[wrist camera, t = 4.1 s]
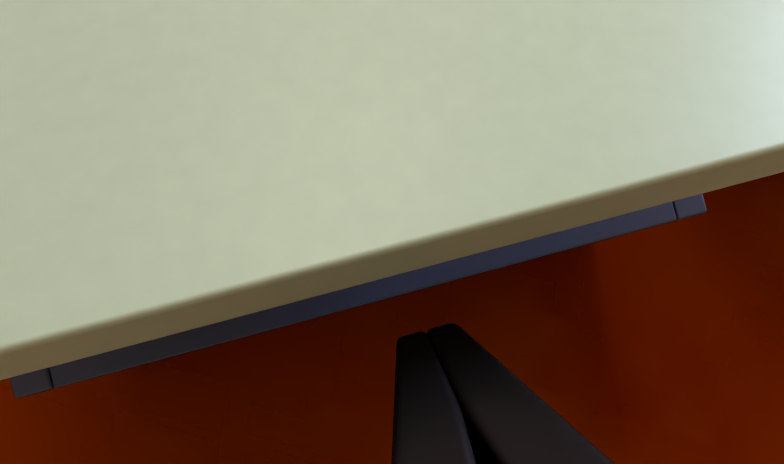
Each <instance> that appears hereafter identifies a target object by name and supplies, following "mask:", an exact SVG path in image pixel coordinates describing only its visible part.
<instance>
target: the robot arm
mask: <svg viewBox="0 0 784 464" xmlns="http://www.w3.org/2000/svg"><path fill="white" fill-rule="evenodd" d="M392 464H614V463H613V462H612V461H611V460H610V459H608V458H607V457H606V456H605V455H604V454H603V453H602V452H601V451H599V450H598V449H597V448H596V447H595V446H594V445H593V444H592V443H590V442H589V441H588V440H587V439H586V438H585V437H584V436H583V435H581V434H580V433H579V432H578V431H577V430H576V429H575V428H574V427H572V426H571V425H570V424H569V423H568V422H567V421H566V420H565V419H563V418H562V417H561V416H560V415H559V414H558V413H557V412H556V411H554V410H553V409H552V408H551V407H550V406H549V405H548V404H546V403H545V402H544V401H543V400H542V399H541V398H540V397H539V396H537V395H536V394H535V393H534V392H533V391H532V390H531V389H530V388H528V387H527V386H526V385H525V384H524V383H523V382H522V381H521V380H519V379H518V378H517V377H516V376H515V375H514V374H513V373H512V372H510V371H509V370H508V369H507V368H506V367H505V366H504V365H503V364H501V363H500V362H499V361H498V360H497V359H496V358H495V357H493V356H492V355H491V354H490V353H489V352H488V351H487V350H486V349H484V348H483V347H482V346H481V345H480V344H479V343H478V342H477V341H475V340H474V339H473V338H472V337H471V336H470V335H469V334H468V333H466V332H465V331H464V330H463V329H462V328H461V327H460V326H458V325H457V324H454V323H449V324H445V325H442V326H438V327H435V328H431V329H429V330H428V331H427V334H426V333H425V332H417V333H413V334H409V335H406V336H402V337H400V338H399V339H398V340H397V348H396V371H395V395H394V418H393V442H392Z"/></svg>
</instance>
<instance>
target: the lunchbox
mask: <svg viewBox="0 0 784 464" xmlns="http://www.w3.org/2000/svg"><path fill="white" fill-rule="evenodd" d="M705 212H707V209H706V205H705V202H704V198H703V194H699V195H695V196H691V197H688V198H684V199H680V200H676V201H673V202H669V203H665V204H661V205H658V206H654V207H650V208H646V209H643V210H639V211H635V212H631V213H627V214H624V215H620V216H616V217H612V218H609V219H605V220H601V221H597V222H594V223H590V224H586V225H582V226H579V227H575V228H571V229H567V230H564V231H560V232H556V233H552V234H549V235H545V236H541V237H537V238H534V239H530V240H526V241H522V242H518V243H515V244H511V245H507V246H503V247H500V248H496V249H492V250H488V251H485V252H481V253H477V254H473V255H470V256H466V257H462V258H458V259H455V260H451V261H447V262H443V263H440V264H436V265H432V266H428V267H424V268H421V269H417V270H413V271H409V272H406V273H402V274H398V275H394V276H391V277H387V278H383V279H379V280H376V281H372V282H368V283H364V284H361V285H357V286H353V287H349V288H346V289H342V290H338V291H334V292H330V293H327V294H323V295H319V296H315V297H312V298H308V299H304V300H300V301H297V302H293V303H289V304H285V305H282V306H278V307H274V308H270V309H267V310H263V311H259V312H255V313H252V314H248V315H244V316H240V317H236V318H233V319H229V320H225V321H221V322H218V323H214V324H210V325H206V326H203V327H199V328H195V329H191V330H188V331H184V332H180V333H176V334H173V335H169V336H165V337H161V338H158V339H154V340H150V341H146V342H143V343H139V344H135V345H131V346H127V347H124V348H120V349H116V350H112V351H109V352H105V353H101V354H97V355H94V356H90V357H86V358H82V359H79V360H75V361H71V362H67V363H64V364H60V365H56V366H52V367H49V368H45V369H41V370H37V371H33V372H30V373H26V374H22V375H18V376H15V377H11V378H10V380H11V384H12V388H13V393H14V396H15V398H21V397H25V396H29V395H33V394H36V393H40V392H44V391H47V390H51V389H53V388H59V387H62V386H66V385H70V384H73V383H77V382H81V381H85V380H88V379H92V378H96V377H99V376H103V375H107V374H110V373H114V372H118V371H122V370H125V369H129V368H133V367H136V366H140V365H144V364H147V363H151V362H155V361H159V360H162V359H166V358H170V357H173V356H177V355H181V354H184V353H188V352H192V351H196V350H199V349H203V348H207V347H210V346H214V345H218V344H221V343H225V342H229V341H233V340H236V339H240V338H244V337H247V336H251V335H255V334H258V333H262V332H266V331H270V330H273V329H277V328H281V327H284V326H288V325H292V324H295V323H299V322H303V321H307V320H310V319H314V318H318V317H321V316H325V315H329V314H332V313H336V312H340V311H344V310H347V309H351V308H355V307H358V306H362V305H366V304H369V303H373V302H377V301H381V300H384V299H388V298H392V297H395V296H399V295H403V294H406V293H410V292H414V291H418V290H421V289H425V288H429V287H432V286H436V285H440V284H443V283H447V282H451V281H455V280H458V279H462V278H466V277H469V276H473V275H477V274H480V273H484V272H488V271H492V270H495V269H499V268H503V267H506V266H510V265H514V264H517V263H521V262H525V261H529V260H532V259H536V258H540V257H543V256H547V255H551V254H554V253H558V252H562V251H566V250H569V249H573V248H577V247H580V246H584V245H588V244H591V243H595V242H599V241H603V240H606V239H610V238H614V237H617V236H621V235H625V234H628V233H632V232H636V231H640V230H643V229H647V228H651V227H654V226H658V225H662V224H666V223H669V222H673V221H675V220H680V219H684V218H688V217H691V216H695V215H699V214H703V213H705Z"/></svg>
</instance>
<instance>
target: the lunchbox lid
mask: <svg viewBox="0 0 784 464" xmlns="http://www.w3.org/2000/svg"><path fill="white" fill-rule="evenodd" d="M782 172H784V0H0V380H3V379H7V378H11V377H15V376H18V375H22V374H26V373H30V372H33V371H37V370H41V369H45V368H49V367H52V366H56V365H60V364H64V363H67V362H71V361H75V360H79V359H82V358H86V357H90V356H94V355H97V354H101V353H105V352H109V351H112V350H116V349H120V348H124V347H127V346H131V345H135V344H139V343H143V342H146V341H150V340H154V339H158V338H161V337H165V336H169V335H173V334H176V333H180V332H184V331H188V330H191V329H195V328H199V327H203V326H206V325H210V324H214V323H218V322H221V321H225V320H229V319H233V318H236V317H240V316H244V315H248V314H252V313H255V312H259V311H263V310H267V309H270V308H274V307H278V306H282V305H285V304H289V303H293V302H297V301H300V300H304V299H308V298H312V297H315V296H319V295H323V294H327V293H330V292H334V291H338V290H342V289H346V288H349V287H353V286H357V285H361V284H364V283H368V282H372V281H376V280H379V279H383V278H387V277H391V276H394V275H398V274H402V273H406V272H409V271H413V270H417V269H421V268H424V267H428V266H432V265H436V264H440V263H443V262H447V261H451V260H455V259H458V258H462V257H466V256H470V255H473V254H477V253H481V252H485V251H488V250H492V249H496V248H500V247H503V246H507V245H511V244H515V243H518V242H522V241H526V240H530V239H534V238H537V237H541V236H545V235H549V234H552V233H556V232H560V231H564V230H567V229H571V228H575V227H579V226H582V225H586V224H590V223H594V222H597V221H601V220H605V219H609V218H612V217H616V216H620V215H624V214H627V213H631V212H635V211H639V210H643V209H646V208H650V207H654V206H658V205H661V204H665V203H669V202H673V201H676V200H680V199H684V198H688V197H691V196H695V195H699V194H703V193H706V192H710V191H714V190H718V189H721V188H725V187H729V186H733V185H737V184H740V183H744V182H748V181H752V180H755V179H759V178H763V177H767V176H770V175H774V174H778V173H782Z"/></svg>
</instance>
